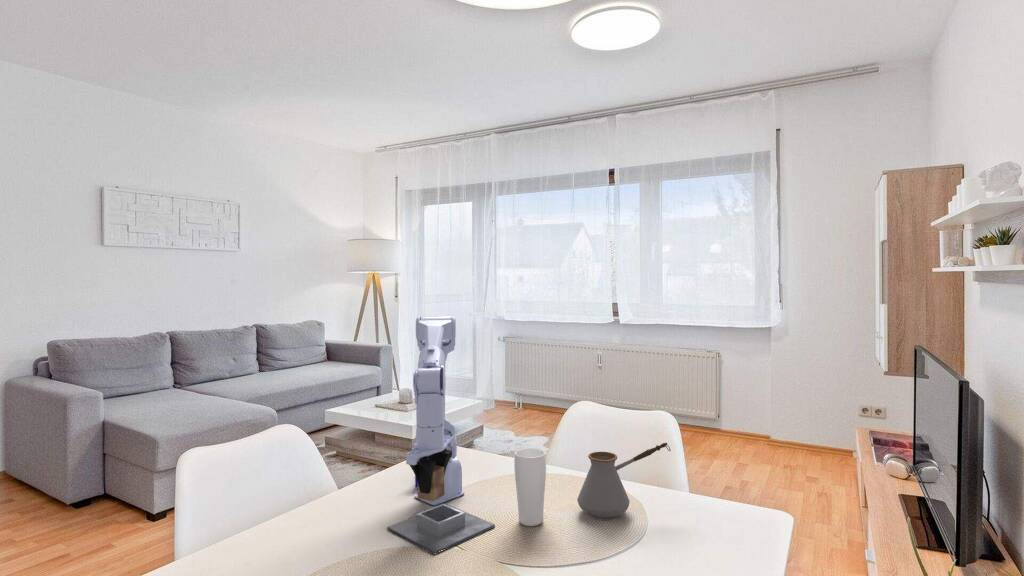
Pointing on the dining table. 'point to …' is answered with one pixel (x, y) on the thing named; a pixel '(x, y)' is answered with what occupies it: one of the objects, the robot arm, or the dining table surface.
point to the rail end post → (434, 485)
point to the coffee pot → (607, 486)
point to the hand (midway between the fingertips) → (431, 488)
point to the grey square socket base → (440, 528)
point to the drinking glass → (530, 485)
